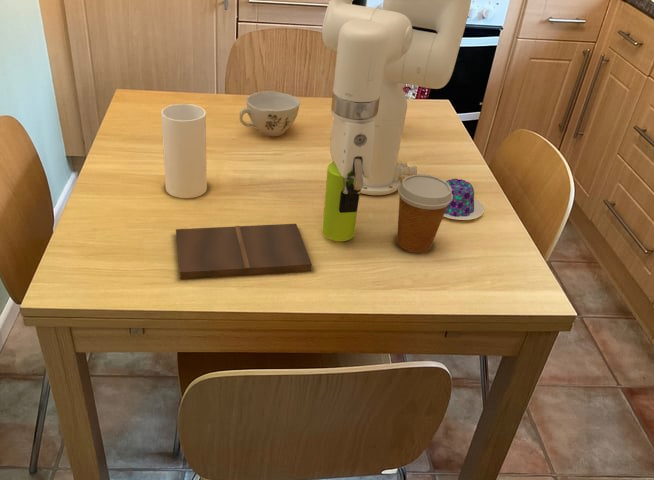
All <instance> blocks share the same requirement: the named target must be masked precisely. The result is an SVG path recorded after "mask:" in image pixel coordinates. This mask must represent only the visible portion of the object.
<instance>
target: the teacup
mask: <svg viewBox="0 0 654 480" xmlns="http://www.w3.org/2000/svg"><path fill="white" fill-rule="evenodd" d="M300 104H301V99H299V98H298V97H297V96H294V95H292V94H289V93H285V92H280V91H272V90H265V91H258V92H254V93H252V94H250V95H248V96H247V97H246V107H245V108H241V110H240V112H239V118H238V119H239V122H240V123H241V125H242V126H244V127H250V128H255V129H257V130H258V131H259V132H260V134H262V135H264V136H267V137H280V136H283V135H284V134H285V132H286V131H288V130H289V129H290V128H291V127H292V125H293V124H294V122H295V121H296V119H297V117H298V113H299V109H300V106H301V105H300ZM245 114H247V115H248V117H249V119H250V121H251V123H248V122H246V121H245V120H243V117H244V115H245Z"/></svg>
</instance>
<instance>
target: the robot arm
mask: <svg viewBox="0 0 654 480" xmlns="http://www.w3.org/2000/svg"><path fill="white" fill-rule="evenodd" d="M353 1H354V0H329V1H328V4H327V6H326V11H325V14H324V17H323V21H322V27H321V38H322V42H323V44H324V46H325V48H327V50H328V51H331V52H333V53H336V58H335V67H334V77H333V87H332V88H333V89H332V96H331V104H330V105H331V106H330V113H331V115H332V116H333V120H332V126H331V134H330V142H329V144H330V145H329V153H330V156H331V159H332V162H334V163H335V164H336V167H337V169H338V171H339V173H340V174H341V176H342V177H343V191H341V195H340V203H339V212H340V213H347V212H356V211H357V212H358V207H359V201H360V195H361V194H363V195H368V196H385V195H390V194H392V193H395V192H397V191H398V187H399V185H400V184H401V183H402V180H401V178H403V176H410V175H416V174H418V167H417V166H414V165H413V166H411V165H410V166H409V165H408V162H407V161H406V162H398V159H399V155H400V148H401V143H402V137H403V134H404V133H403V131H404V128H405V122H406V117H407V111H408V100H407V95H406V93H405V92H404V91H403V88H402V86H401V84H400V83H402V84H403V83H404V84H406V85H409V86H415V87H421V88H426V89H427V88H428V89H432V90H433V89H434V90H439V89H442V88H444V87H445V86H447V84H448V83H449V82H450V80H451V78H452V76H453V72H454V70H455V65H456V62H457V59H458V54H459V51H460V48H461V43H462V40H463V36H464V33H465V29H466V25H467V22H468V18H469V13H470V9H471V4H472V0H383V2H382V9H381V8H376V7H370V6H365V5H358V4H353ZM413 27H415V28H422V29H429V30H433V31H436V32H430V31H424V30H418V29H414V28H413ZM352 171H353V175H348V173H350V172H352ZM348 179H354V182H353V184H350V185H349V186H348Z"/></svg>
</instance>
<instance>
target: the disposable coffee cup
mask: <svg viewBox="0 0 654 480" xmlns="http://www.w3.org/2000/svg"><path fill="white" fill-rule="evenodd" d="M446 181H447V180H444V179H442V178H440V177H437V176H434V175H430V174H421V173H419V174H418V173H417V174H416V175H410V176H408V175H406V177H404V178H403V179H402V180H401V183H400V185H399V187H398V190H397V192H398V195H399V198H398V199H399V201H398V218H397V219H398V220H397V230H396V231H397V232H396V243H397V245H398V247H400V248H401V249H402V250H405V251H406V252H409V253H414V254H422V253H426V252H428V251H430V249H431V248H432V245H433V243H434V241H435V238H436V235H437V233H438V231H439V228H440V226H441V223H442V221H443V218H444V213H445V211H446V208H447V206H448V205H449V203H450V202H451V201H452V199H453V194H452V189H451V186H450V185H449V184H448V183H447V182H446Z"/></svg>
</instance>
